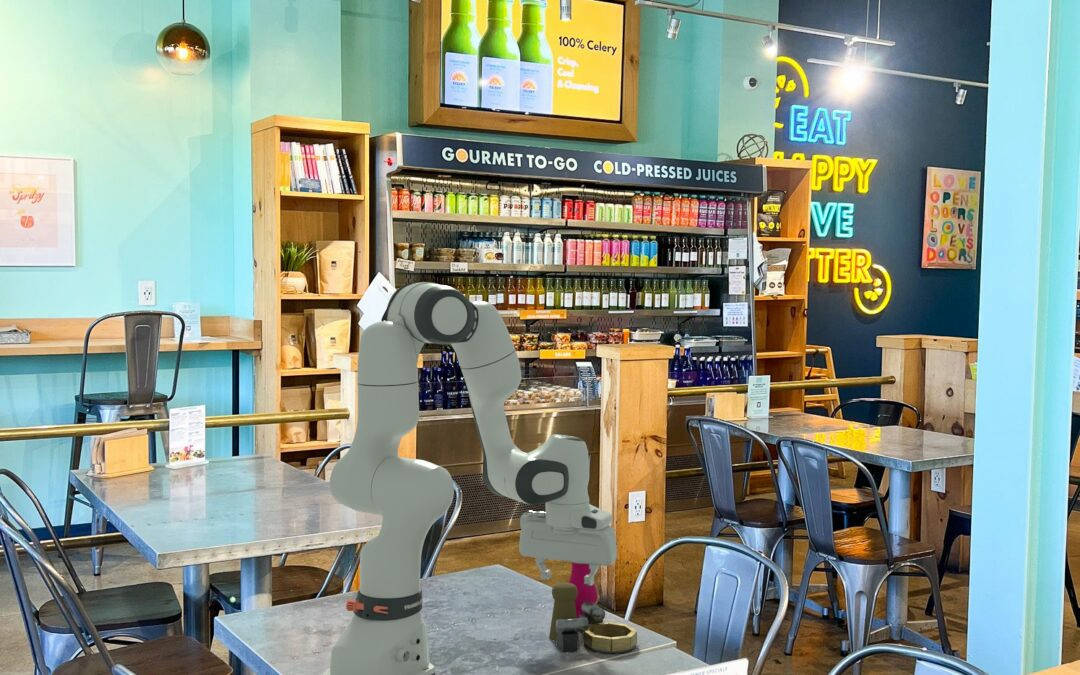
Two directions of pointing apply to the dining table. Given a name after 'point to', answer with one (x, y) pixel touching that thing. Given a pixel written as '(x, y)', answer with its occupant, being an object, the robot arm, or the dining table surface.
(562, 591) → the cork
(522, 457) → the robot arm
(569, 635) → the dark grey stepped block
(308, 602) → the dining table surface
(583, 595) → the pepper mill
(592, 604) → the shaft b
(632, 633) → the coupling collar
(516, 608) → the dining table surface
